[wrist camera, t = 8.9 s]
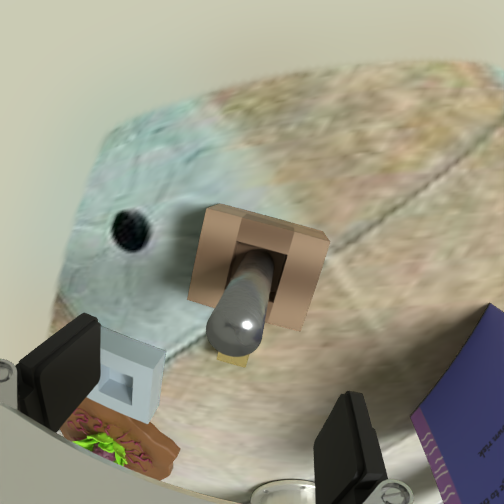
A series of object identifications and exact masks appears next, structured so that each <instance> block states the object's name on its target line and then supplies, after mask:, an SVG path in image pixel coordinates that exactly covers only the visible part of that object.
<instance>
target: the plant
mask: <svg viewBox="0 0 504 504" xmlns="http://www.w3.org/2000/svg"><path fill="white" fill-rule="evenodd" d="M60 430H61V432H62V434H63V435H64V438H66V439H68V440H69V441H71V442H73V443H75V444H77V445H79V446H81V447H83V448H85V449H87V450H89V451H91V452H93V453H95V454H97V455H99V456H101V457H103V458H105V459H107V460H110V461H112V462H114V463H116V464H119V465H121V466H123V467H126V468H128V469H131V470H133V471H135V472H138V473H140V474H143V475H146V476H148V477H151V478H154V479H156V480H159V481H160V480H162V479H164V478H166V477H168V476H169V475H170V474H171V471H172V469H173V461H174V460H175V459H176V458H177V456H178V454H179V451H180V448H179V447H178V446H177V445H176V444H175V443H174V441H173V440H171V439H170V438H168V437H167V436H165V435H164V434H162V433H161V432H160V431H159V430H158V429H157V428H156V427H155V426H154V425H153V424H152V423H151V422H149V424H146V423H143V422H141V421H138V420H136V419H133V418H131V417H129V416H126V415H124V414H122V413H119V412H117V411H115V410H112V409H110V408H108V407H106V406H104V405H102V404H99V403H97V402H95V401H93V400H91V399H89V398H87V397H86V398H85V399H84V400H83V401H82V403H81V404H80V405H79V406H78V407H77V408H76V410H75V411H74V412H73V413H72V414H71V416H70V417H69V418H68V419H67V420H66V421H65V423H64V424H63V425H62V426H61V427H60Z"/></svg>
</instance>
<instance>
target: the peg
mask: <svg viewBox="0 0 504 504" xmlns="http://www.w3.org/2000/svg"><path fill="white" fill-rule="evenodd" d="M273 270H274V260H273V258H272V256H271V255H270V254H269V253H268V252H267V251H265V250H263V249H253V250H251V251H249V252H248V253H247V254H246V255H245V256H244V258H243V260H242V261H241V263H240V265H239V267H238V268H237V270H236V272H235V274H234V275H233V277H232V279H231V281H230V282H229V284H228V286H227V288H226V290H225V291H224V293H223V295H222V297H221V298H220V300H219V302H218V304H217V305H216V307H215V309H214V311H213V312H212V314H211V316H210V318H209V320H208V322H207V325H206V334H207V338H208V340H209V342H210V344H211V345H212V346H213V347H214V348H215V349H216V350H217V351H219V352H220V353H222V354H224V355H227V356H231V357H242V356H246V355H248V354H250V353H252V352H253V351H255V350H256V349H257V347H258V346H259V344H260V342H261V339H262V334H263V329H264V323H265V317H266V312H267V306H268V300H269V294H270V288H271V282H272V276H273Z"/></svg>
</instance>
